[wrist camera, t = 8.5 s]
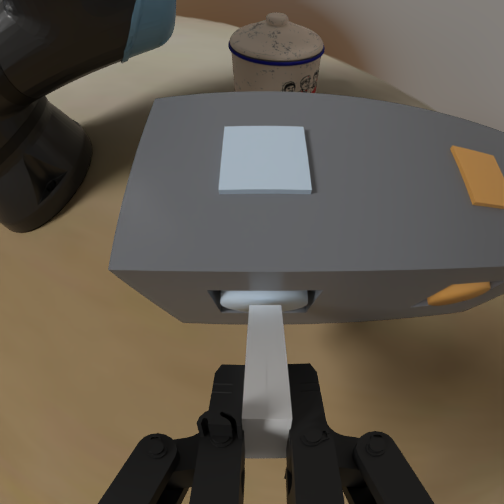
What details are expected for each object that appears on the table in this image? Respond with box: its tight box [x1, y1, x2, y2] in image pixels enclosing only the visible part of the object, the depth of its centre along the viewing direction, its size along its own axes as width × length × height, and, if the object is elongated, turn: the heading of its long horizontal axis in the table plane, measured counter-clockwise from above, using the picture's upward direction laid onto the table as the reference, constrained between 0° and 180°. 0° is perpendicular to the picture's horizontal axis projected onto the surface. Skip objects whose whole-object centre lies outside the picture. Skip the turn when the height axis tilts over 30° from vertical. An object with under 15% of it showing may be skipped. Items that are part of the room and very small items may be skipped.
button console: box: [108, 91, 504, 324], centre depth 17 cm, size 10×24×12 cm, turn 89°
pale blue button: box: [220, 290, 308, 312], centre depth 16 cm, size 4×4×4 cm
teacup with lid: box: [229, 13, 324, 93], centre depth 25 cm, size 12×9×12 cm
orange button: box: [427, 282, 491, 306], centre depth 15 cm, size 4×4×4 cm
